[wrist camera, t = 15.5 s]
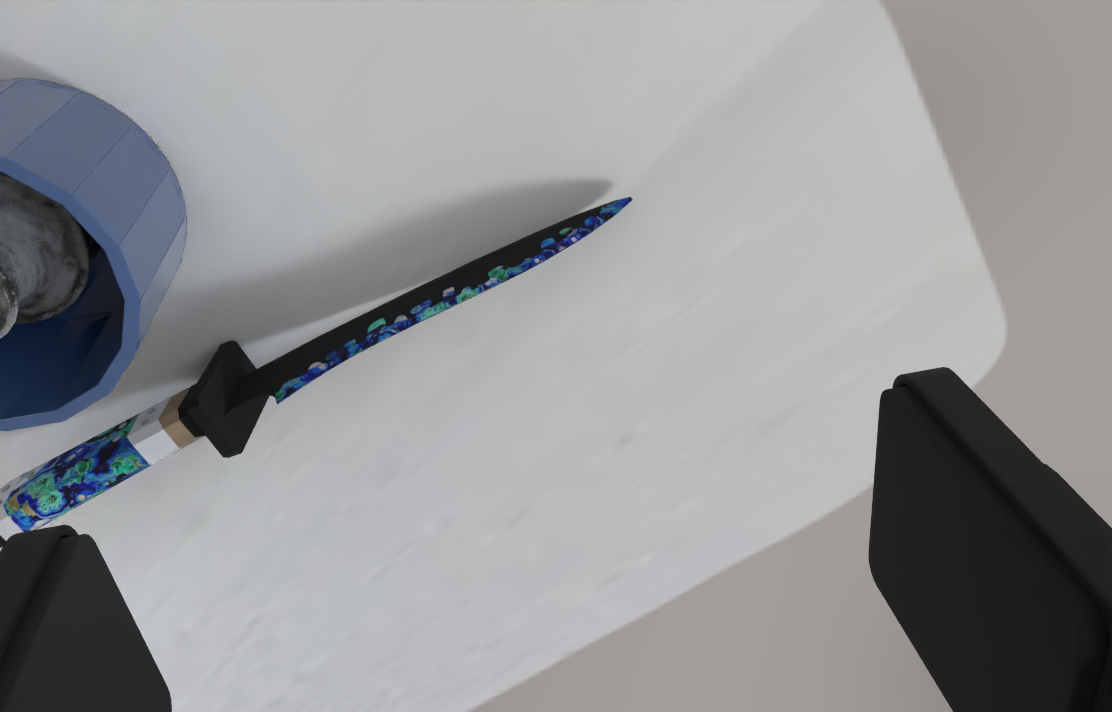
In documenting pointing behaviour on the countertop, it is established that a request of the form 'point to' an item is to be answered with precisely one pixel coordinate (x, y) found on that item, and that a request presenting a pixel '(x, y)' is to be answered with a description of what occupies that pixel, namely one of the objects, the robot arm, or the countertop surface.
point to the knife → (260, 384)
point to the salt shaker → (39, 255)
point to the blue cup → (114, 223)
